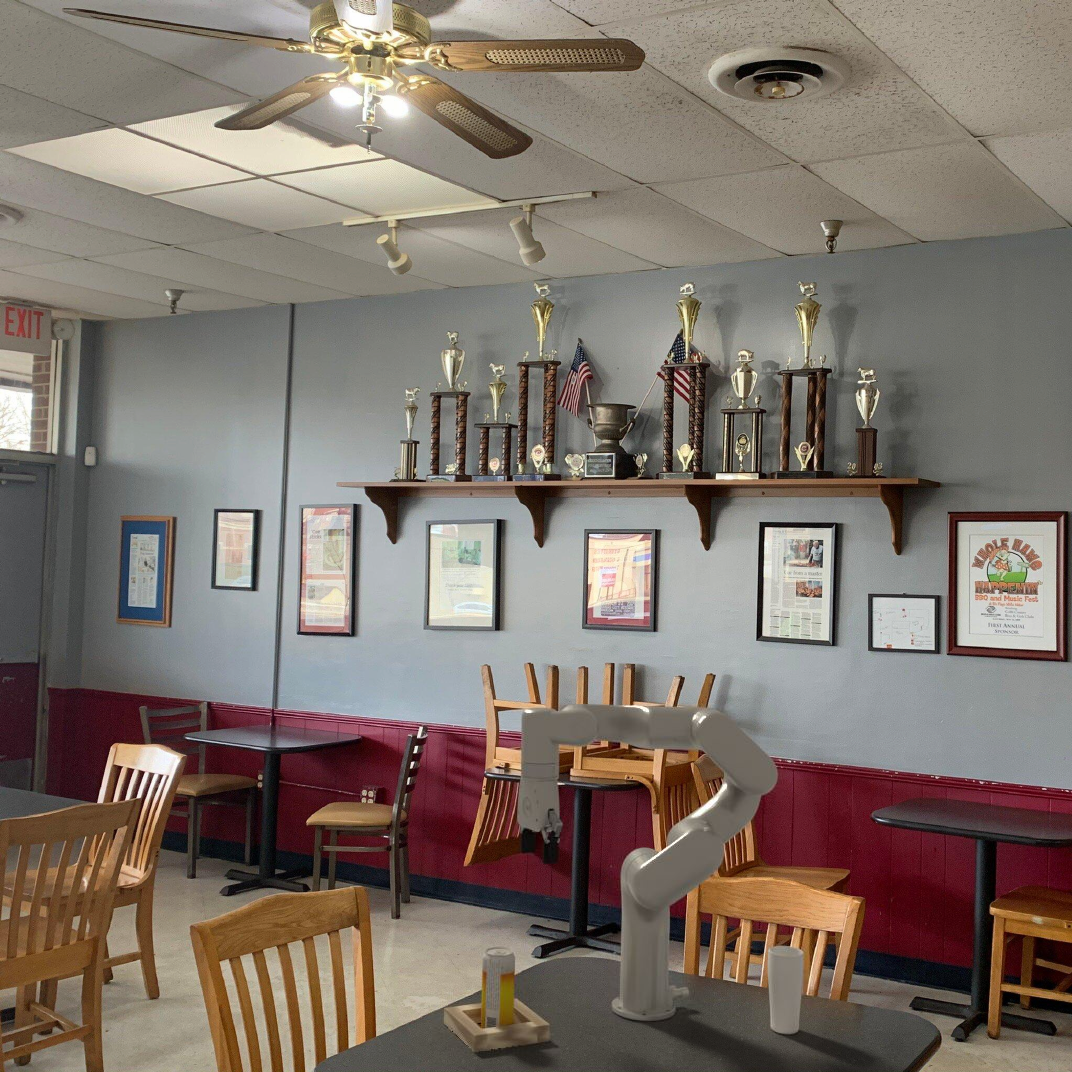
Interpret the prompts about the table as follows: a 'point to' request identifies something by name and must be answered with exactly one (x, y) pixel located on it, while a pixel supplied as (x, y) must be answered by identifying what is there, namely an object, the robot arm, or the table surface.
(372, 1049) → the table surface
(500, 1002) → the beer can
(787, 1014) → the drinking glass
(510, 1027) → the can holder
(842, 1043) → the table surface
